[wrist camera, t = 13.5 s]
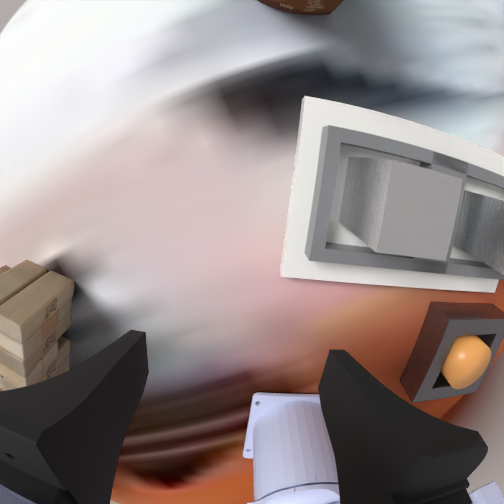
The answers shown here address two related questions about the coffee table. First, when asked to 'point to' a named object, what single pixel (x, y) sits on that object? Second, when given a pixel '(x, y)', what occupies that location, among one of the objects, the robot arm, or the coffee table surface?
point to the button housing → (449, 346)
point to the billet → (400, 207)
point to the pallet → (332, 187)
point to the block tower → (33, 324)
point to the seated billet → (482, 229)
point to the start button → (466, 361)
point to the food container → (304, 6)
